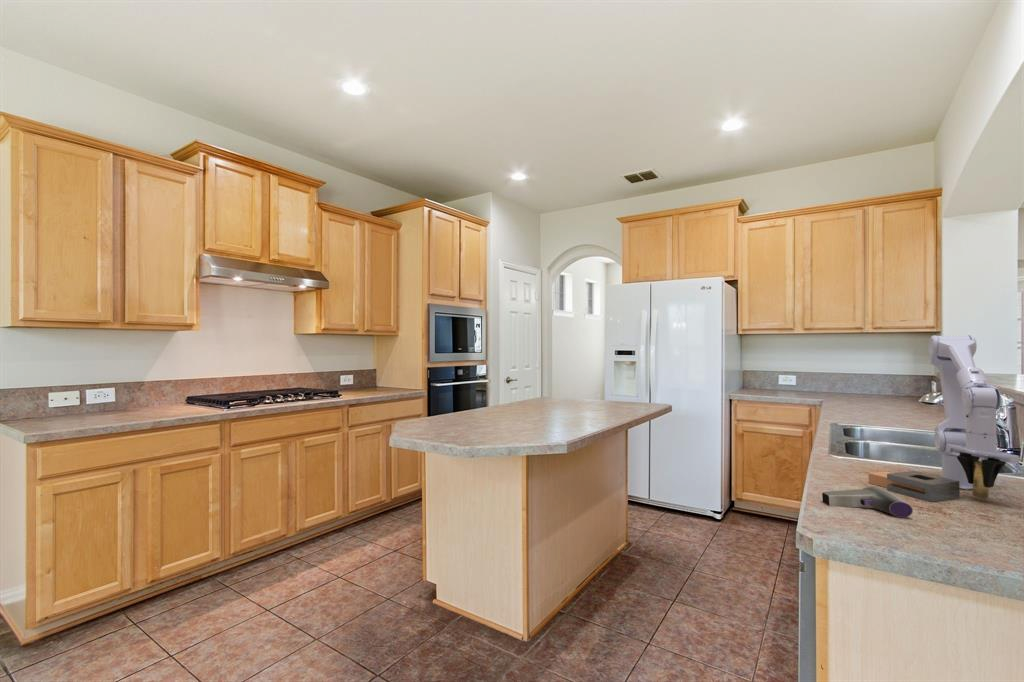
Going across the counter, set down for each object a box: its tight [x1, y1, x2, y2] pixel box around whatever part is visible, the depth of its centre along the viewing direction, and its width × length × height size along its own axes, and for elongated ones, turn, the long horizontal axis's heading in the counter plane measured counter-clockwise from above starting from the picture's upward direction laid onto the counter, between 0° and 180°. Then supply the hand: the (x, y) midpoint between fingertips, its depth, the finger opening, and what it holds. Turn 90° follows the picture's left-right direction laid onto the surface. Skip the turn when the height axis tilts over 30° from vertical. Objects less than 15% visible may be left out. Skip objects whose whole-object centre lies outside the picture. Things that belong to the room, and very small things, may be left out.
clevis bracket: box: [886, 470, 961, 503], centre depth 133 cm, size 11×11×4 cm
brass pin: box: [972, 460, 990, 499], centre depth 128 cm, size 3×3×9 cm
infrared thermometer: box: [821, 486, 914, 518], centre depth 120 cm, size 5×12×15 cm
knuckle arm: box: [868, 471, 925, 492], centre depth 137 cm, size 7×16×3 cm, turn 18°
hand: (980, 485), depth 128 cm, fingers closed on brass pin, 3 cm apart
